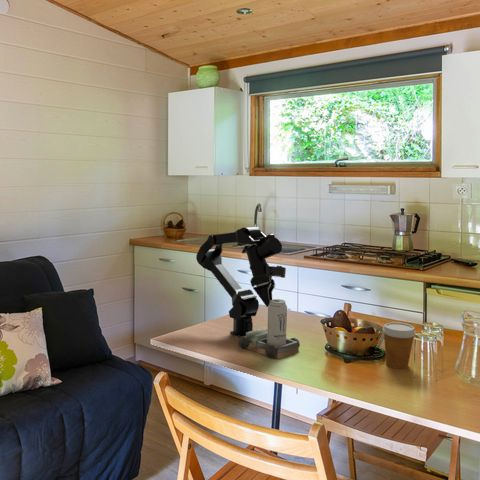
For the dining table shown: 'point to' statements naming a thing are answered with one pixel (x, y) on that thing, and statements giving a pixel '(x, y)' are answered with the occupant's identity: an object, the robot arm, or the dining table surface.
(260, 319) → the dining table surface
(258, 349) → the chassis
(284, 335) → the energy drink can
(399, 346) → the disposable coffee cup
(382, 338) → the frog figurine
